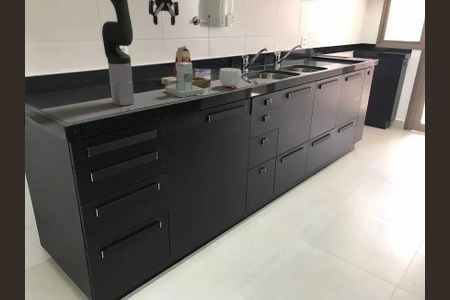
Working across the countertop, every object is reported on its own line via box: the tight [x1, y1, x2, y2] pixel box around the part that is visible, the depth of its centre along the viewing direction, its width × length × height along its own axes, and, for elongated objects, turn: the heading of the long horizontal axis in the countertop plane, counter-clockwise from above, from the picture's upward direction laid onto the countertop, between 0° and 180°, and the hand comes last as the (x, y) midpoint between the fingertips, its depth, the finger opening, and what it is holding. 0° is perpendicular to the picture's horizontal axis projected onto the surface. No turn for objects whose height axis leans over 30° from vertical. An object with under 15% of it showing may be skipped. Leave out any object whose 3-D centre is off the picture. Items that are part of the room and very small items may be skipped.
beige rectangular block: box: [161, 76, 176, 86], centre depth 180 cm, size 10×8×4 cm
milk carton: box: [174, 45, 195, 77], centre depth 192 cm, size 9×9×20 cm
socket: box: [192, 76, 211, 89], centre depth 177 cm, size 11×11×4 cm
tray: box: [164, 85, 205, 98], centre depth 160 cm, size 16×13×3 cm
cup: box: [218, 67, 242, 88], centre depth 176 cm, size 12×12×10 cm
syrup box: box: [176, 62, 193, 91], centre depth 157 cm, size 6×6×14 cm
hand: (164, 25), depth 150 cm, fingers open, 8 cm apart
